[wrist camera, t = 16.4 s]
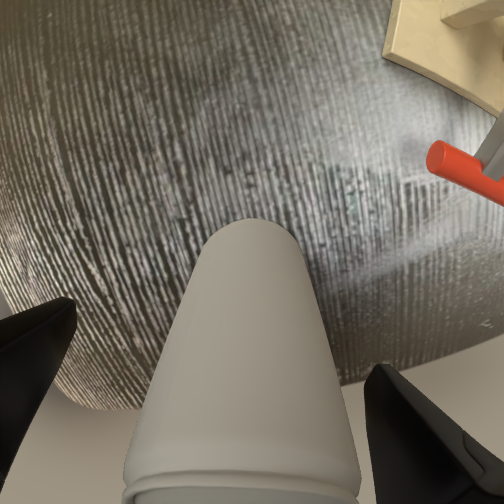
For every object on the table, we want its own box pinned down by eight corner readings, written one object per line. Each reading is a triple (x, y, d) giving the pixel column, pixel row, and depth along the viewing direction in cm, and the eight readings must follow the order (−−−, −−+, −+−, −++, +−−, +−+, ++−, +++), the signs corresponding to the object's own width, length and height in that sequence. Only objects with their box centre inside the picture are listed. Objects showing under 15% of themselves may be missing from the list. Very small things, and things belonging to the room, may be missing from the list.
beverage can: (301, 304, 16) (343, 544, 5) (206, 307, 16) (154, 542, 5) (303, 211, 14) (402, 464, 3) (195, 216, 15) (69, 457, 4)
